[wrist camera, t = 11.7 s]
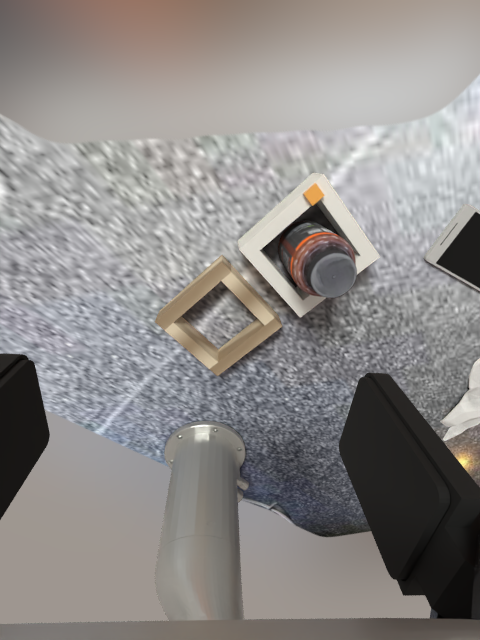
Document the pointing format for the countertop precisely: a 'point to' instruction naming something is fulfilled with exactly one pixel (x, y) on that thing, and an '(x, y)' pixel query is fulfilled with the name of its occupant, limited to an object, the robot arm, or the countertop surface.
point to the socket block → (283, 215)
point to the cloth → (465, 407)
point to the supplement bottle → (318, 259)
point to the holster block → (194, 340)
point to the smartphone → (459, 247)
